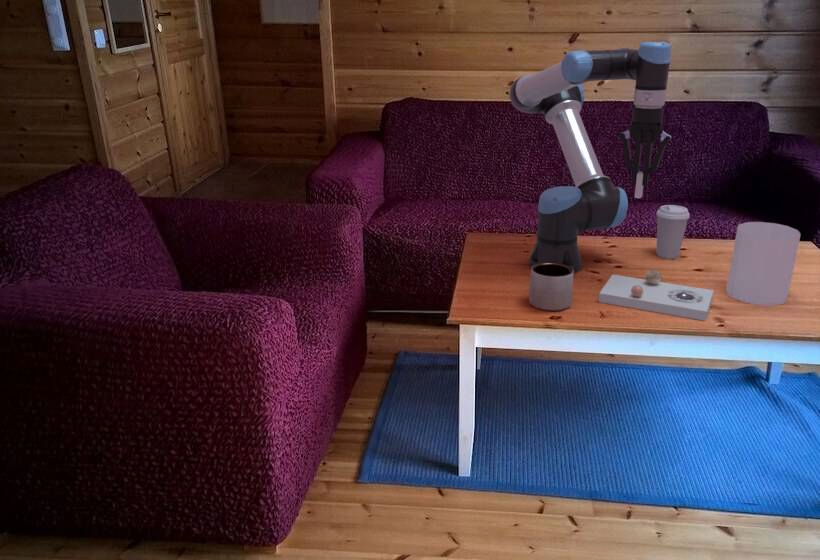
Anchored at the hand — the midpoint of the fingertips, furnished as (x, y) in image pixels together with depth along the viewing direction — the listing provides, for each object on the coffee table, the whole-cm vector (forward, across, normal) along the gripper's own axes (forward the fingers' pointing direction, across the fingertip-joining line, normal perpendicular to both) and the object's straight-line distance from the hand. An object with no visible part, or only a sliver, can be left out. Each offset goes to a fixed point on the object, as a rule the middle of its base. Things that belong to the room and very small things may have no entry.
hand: (638, 196), depth 179 cm
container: (+25, +32, +6) cm, 41 cm away
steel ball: (+23, +16, -11) cm, 30 cm away
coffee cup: (+25, +6, +28) cm, 37 cm away
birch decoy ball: (+20, +7, -5) cm, 22 cm away
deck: (+24, +9, -10) cm, 28 cm away
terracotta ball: (+20, +5, -16) cm, 26 cm away
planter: (+25, -15, -24) cm, 38 cm away
